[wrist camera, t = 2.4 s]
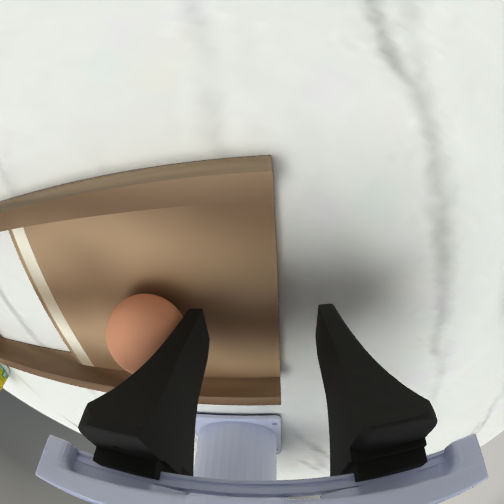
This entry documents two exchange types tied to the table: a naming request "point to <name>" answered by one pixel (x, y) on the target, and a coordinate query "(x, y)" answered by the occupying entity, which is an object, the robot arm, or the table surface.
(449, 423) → the table surface
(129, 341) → the ball
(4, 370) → the supplement bottle
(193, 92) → the table surface
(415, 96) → the table surface
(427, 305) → the table surface
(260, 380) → the lane
